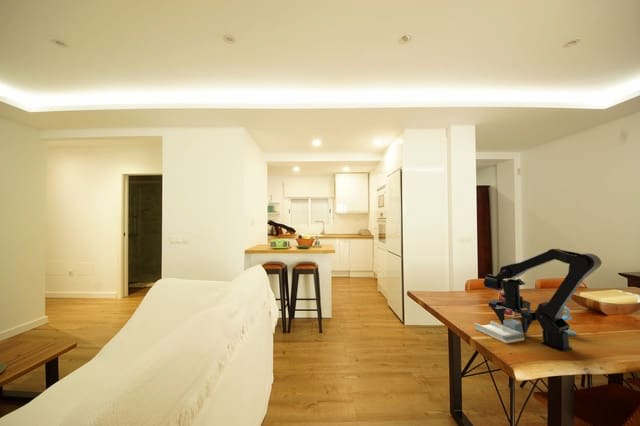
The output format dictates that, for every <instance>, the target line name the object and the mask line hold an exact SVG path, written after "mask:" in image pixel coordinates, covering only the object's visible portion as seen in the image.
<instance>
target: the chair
mask: <svg viewBox="0 0 640 426" xmlns="http://www.w3.org/2000/svg"><path fill="white" fill-rule="evenodd" d="M564 311H566V313H565V314H563V316H562V319H563V320H564V321H566V322H567V321H570V320H573V318H572V316H570V315H569V313H570V311H571V309H570V308H569V307H568V306H566V305H565V307H564ZM565 332H567V333H568V335H571V336H572V335H575V336H577V332H576V331H574V330H573V331H572V330H570V329H568V330H566V331H565Z"/></svg>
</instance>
